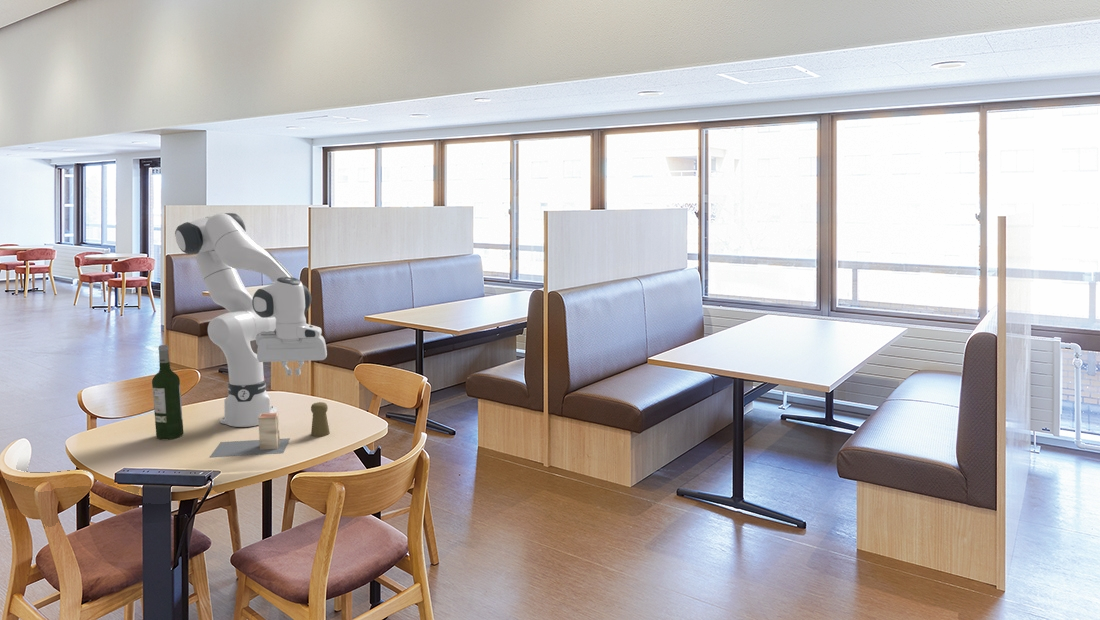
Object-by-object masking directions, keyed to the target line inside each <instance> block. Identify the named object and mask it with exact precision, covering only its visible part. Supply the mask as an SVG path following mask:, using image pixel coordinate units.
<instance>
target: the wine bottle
mask: <svg viewBox="0 0 1100 620" xmlns="http://www.w3.org/2000/svg"><path fill="white" fill-rule="evenodd" d="M158 360H159V364H158V365H159V371H158V372H157V373H156V374H155V375H154V376H153V378H152V380H151V388H152V398H153V409H154V410H153V411H154V423H155V424H154V425H155V436H156V438H157V439H158V440H162V439H168V440H173V439H174V438H175V439H177V438H180V436H181V437H182V436H183V435H184V424H183V423H184V419H183V408H182V407H183V406H182V396H181V395H182V394H181V393H182V392H181V380H180V377H179V376H178V374H177V373H176V372H174V371H173V370H171V369H172V368H171V364H170V355H169V346H168V345H167V344H160V345H158Z"/></svg>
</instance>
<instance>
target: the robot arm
mask: <svg viewBox="0 0 1100 620" xmlns="http://www.w3.org/2000/svg"><path fill="white" fill-rule="evenodd" d="M246 230H247V229H246V226H245V222H244V220H243V219H242V217H241V216H240V215H238V214H237V213H233V212H228V213H227V212H226V213H224V212H223V213H216V214H213V215H209V216H205V217H203V218H198V219H195V220H192V221H190V222H188V221H187V222H184V223H182V224H179V225H178V226H177V227H176V229H175V233H174V237H175V242H176V244H177V246H178V248H179V249H180V250H181V251H182V252H183V253H185V254H186V255H195V257H196V263H197V266H198V270H199V272H200V276H201V278H202V280H203V281H202V282H203V283H204V285H205V287H206V289H207V292H208V294H209V296H210V298H211V300H212V301H213V302H214V304H216V305H218V306H221V307H222V308H224V309H225V310H227V311H228V312H226V313H222V314H220V315H218V316H216V317H213V318H212V319H211V320H210V321H209V322H208V325H207V335H208V337H209V340H210V341H212V343H213V344H214V345H216V346H217V347H219V348H220V349H221V351H222V352H223V354H224V356H225V359H226V363H227V370H228V371H227V373H228V383H227V391H228V395H227V397H225V399H224V405H223V406H224V408H223V409H224V417H222V418H220V419H219V424H225V425H227V426H230V427H238V428H244V427H245V428H247V427H256V426H259V423H258V418H259V416H260V415H261V413H278V412H277V406H274V405H271V398H270V395H269V393H268V391H267V384H266V380H265V377H264V376H265V375H264V363H275V362H276V363H278V362H280V363H281V366H282V368H283V369H284V370H285V376H286V377H287V376H292V374H293V373H292V371H293V369H292V368H290V367H288V365H287V364H288V362H297V363H298V365H299V366H298V367H297V368H295V369H294V375H295V376H301V372H302V371H301V369H302V367H303V365H304V363H305V362H308V361H309V362H310V361H324V360H325V359H326V358H327V356H328V351H327V344H326V339H325V338H324V336H323V335H322V333H323V331H322V328H321V327H319V326H316V325H312V324H309V323H307V318H306V315H305V314H306V313H307V312H308V310H309V309H310V307H311V305H312V301H313V300H312V297H313V296H312V294H311V291H310V290H309V289H308V287H307V286H306V285H305V284H303V283H302V281H301V280H300V279H298V278H297V277H295V276H293V275H292V273H290V272H289V270H288V269H287V268H286V267H285V266H284V265H283V264H282V263H281V262H280V260H278V259H277V257H275V256H274V255H273V254H272V253H271V252H270V251H268V250H266V249H265V248H263V247H262V246H260V245H259V244H257V243H256V242H255V241H254V240H253V239H252V238H251V237H250V236H249V234H248V233H247V231H246ZM238 270H244V271H252V272H256V273H260V274H263V275H264V276H266V277H267V278H269V279H270V280H271V282H272V284H270V285H268V286H263V287H262V288H258V289H257V290H256V291H255V292H254V293H253V296H252V294H250V293H249V291H248V289H247V288H246V286H245V285H244V282H243V281H242V278H241V276H240V274H239V272H238ZM253 341H255V344H256V346H257V348H256V352H254V351H253V348H252V345H251V342H253Z"/></svg>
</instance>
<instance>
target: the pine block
mask: <svg viewBox="0 0 1100 620" xmlns="http://www.w3.org/2000/svg"><path fill="white" fill-rule="evenodd" d="M258 423H259V425H258V436H259V437H258V440H260V450H262V449H277V448H278V446H279V444H280V439H281V438H280V423H279V412H277V413H261V415H260V416H259V418H258Z"/></svg>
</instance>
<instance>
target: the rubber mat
mask: <svg viewBox="0 0 1100 620" xmlns="http://www.w3.org/2000/svg"><path fill="white" fill-rule="evenodd" d="M290 440H291V438H289V437H288V438H280V444H279V446H278V448H277V449H262V450H260V440H259V439H253V440H251V439H250V440H235V441H220V442H219V444H218V445H217V447H215V449H214V450H213V451H212V453H211V455H210V456H209V458H225V457H238V456H239V457H243V456H259V455H260V456H261V455H277V454H278V455H279V454H284V452H285V450H286V449H287V448H288V447H287V446H288V444H289V442H290Z"/></svg>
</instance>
